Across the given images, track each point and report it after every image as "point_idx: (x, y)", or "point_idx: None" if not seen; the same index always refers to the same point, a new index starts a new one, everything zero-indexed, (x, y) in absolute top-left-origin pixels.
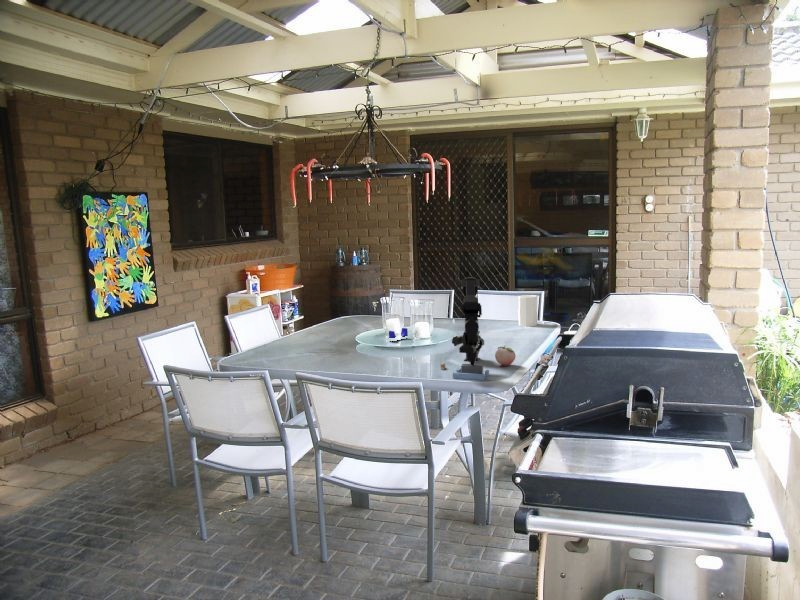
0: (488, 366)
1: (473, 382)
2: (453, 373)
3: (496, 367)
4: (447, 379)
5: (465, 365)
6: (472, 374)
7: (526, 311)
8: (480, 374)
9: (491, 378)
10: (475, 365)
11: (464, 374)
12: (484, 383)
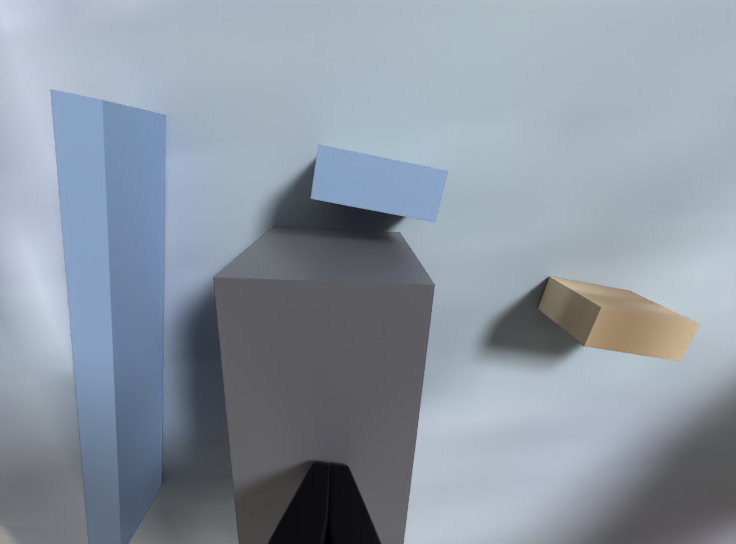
0: (724, 464)
1: (28, 394)
2: (61, 110)
3: (662, 527)
4: (59, 14)
5: (269, 362)
6: (83, 425)
7: None
8: (95, 517)
9: None
10: None
11: (78, 313)
12: (31, 492)
